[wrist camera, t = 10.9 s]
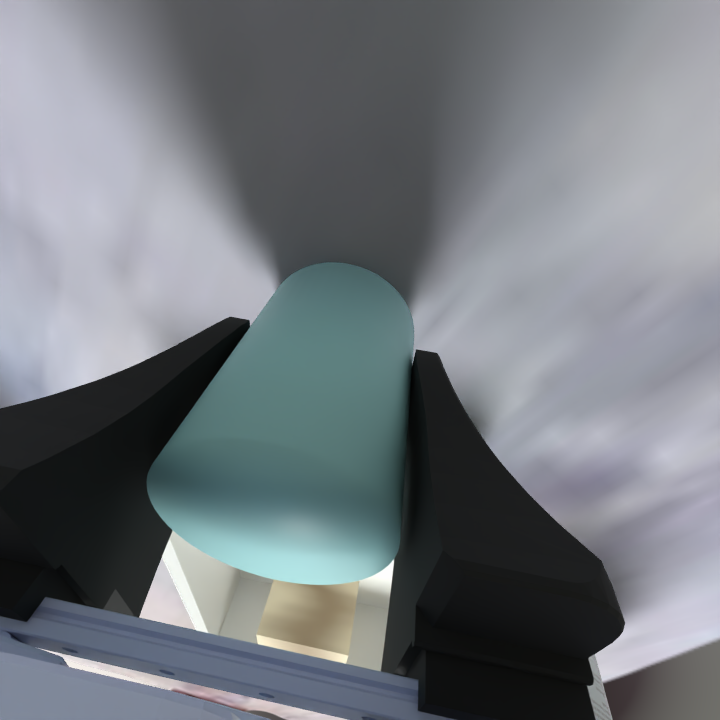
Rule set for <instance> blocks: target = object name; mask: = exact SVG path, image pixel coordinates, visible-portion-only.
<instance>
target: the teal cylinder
mask: <svg viewBox="0 0 720 720" xmlns="http://www.w3.org/2000/svg"><path fill="white" fill-rule="evenodd" d="M413 346H414V325H413V319H412V316H411V313H410V310H409V308H408V306H407V304H406V302H405V301H404V299H403V298H402V296H401V295H400V294H399V293H398V291H397V290H396V289H395V288H394V287H393V286H392V285H391V284H389V283H388V282H387V281H386V280H385V279H383V278H382V277H380V276H379V275H377V274H375V273H373V272H371V271H369V270H367V269H365V268H362V267H359V266H356V265H352V264H347V263H339V262H325V263H319V264H314V265H310V266H307V267H304V268H302V269H300V270H298V271H296V272H295V273H293V274H292V275H290V276H289V277H288V278H287V279H286V280H284V281H283V282H282V284H281V285H280V286H279V287H278V289H277V290H276V292H275V293H274V294H273V296H272V297H271V299H270V300H269V301H268V303H267V304H266V306H265V307H264V308H263V310H262V311H261V313H260V314H259V315H258V317H257V318H256V320H255V321H254V322H253V324H252V325H251V327H250V328H249V329H248V331H247V332H246V334H245V335H244V336H243V338H242V339H241V341H240V342H239V343H238V345H237V346H236V348H235V349H234V350H233V352H232V353H231V355H230V356H229V357H228V359H227V360H226V362H225V363H224V364H223V366H222V367H221V369H220V370H219V371H218V373H217V374H216V376H215V377H214V378H213V380H212V381H211V383H210V384H209V385H208V387H207V388H206V390H205V391H204V392H203V394H202V395H201V397H200V398H199V399H198V401H197V402H196V404H195V405H194V406H193V408H192V409H191V411H190V412H189V413H188V415H187V416H186V418H185V419H184V420H183V422H182V423H181V425H180V426H179V427H178V429H177V430H176V432H175V433H174V434H173V436H172V437H171V439H170V440H169V441H168V443H167V444H166V446H165V447H164V448H163V450H162V451H161V453H160V454H159V455H158V457H157V458H156V460H155V461H154V462H153V464H152V465H151V468H150V470H149V472H148V476H147V492H148V495H149V498H150V501H151V503H152V505H153V507H154V509H155V510H156V512H157V513H158V514H159V516H160V517H161V518H162V520H163V521H164V522H165V523H166V524H167V525H168V526H169V527H170V528H171V529H172V530H173V531H174V532H175V533H176V534H178V535H179V536H180V537H181V538H183V539H184V540H185V541H187V542H188V543H189V544H191V545H192V546H194V547H195V548H197V549H198V550H200V551H202V552H204V553H205V554H207V555H209V556H211V557H213V558H215V559H217V560H219V561H221V562H223V563H225V564H228V565H230V566H232V567H235V568H237V569H240V570H243V571H246V572H249V573H252V574H255V575H259V576H262V577H266V578H270V579H274V580H279V581H285V582H291V583H298V584H310V585H333V584H344V583H350V582H355V581H359V580H363V579H365V578H368V577H371V576H373V575H375V574H377V573H379V572H381V571H382V570H383V569H385V568H386V567H387V566H388V565H389V564H390V563H391V562H392V561H393V560H394V558H395V556H396V554H397V553H398V550H399V545H400V536H401V522H402V507H403V493H404V478H405V463H406V449H407V434H408V419H409V405H410V389H411V374H412V361H413Z"/></svg>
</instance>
